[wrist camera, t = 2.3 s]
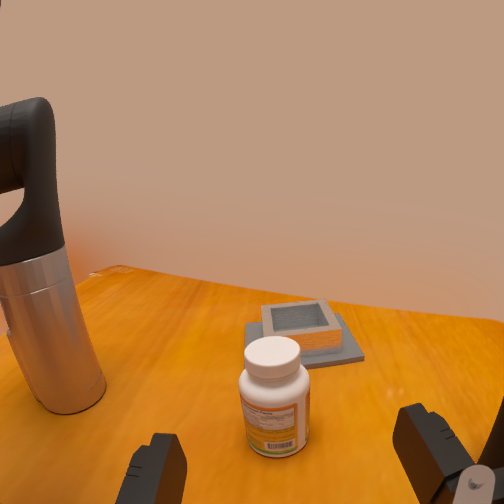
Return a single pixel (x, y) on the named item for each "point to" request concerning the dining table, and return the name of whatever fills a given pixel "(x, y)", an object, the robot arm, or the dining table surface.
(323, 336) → the socket board
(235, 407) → the dining table surface
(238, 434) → the dining table surface
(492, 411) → the dining table surface
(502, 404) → the dixie cup
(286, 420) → the supplement bottle
